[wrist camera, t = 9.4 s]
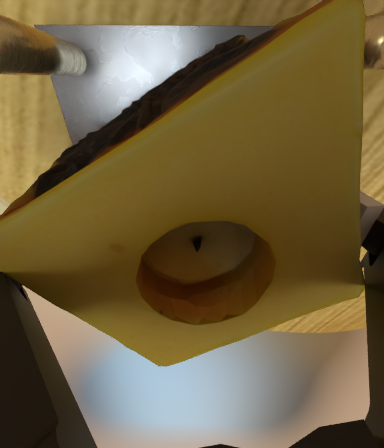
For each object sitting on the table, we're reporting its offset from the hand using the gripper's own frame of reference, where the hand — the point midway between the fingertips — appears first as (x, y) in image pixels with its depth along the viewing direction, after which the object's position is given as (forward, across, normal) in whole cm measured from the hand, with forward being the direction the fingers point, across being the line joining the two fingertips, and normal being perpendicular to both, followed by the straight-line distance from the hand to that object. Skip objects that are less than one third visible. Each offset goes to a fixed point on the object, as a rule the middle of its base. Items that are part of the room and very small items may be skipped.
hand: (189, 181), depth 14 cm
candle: (+2, 0, 0) cm, 2 cm away
